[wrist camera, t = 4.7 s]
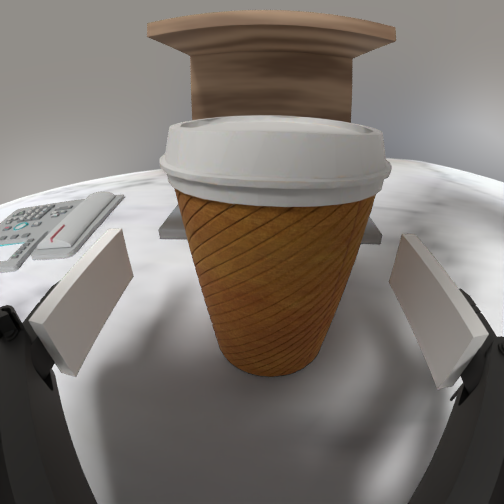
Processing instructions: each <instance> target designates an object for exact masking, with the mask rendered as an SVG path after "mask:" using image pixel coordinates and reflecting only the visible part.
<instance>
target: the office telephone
mask: <svg viewBox="0 0 504 504" xmlns="http://www.w3.org/2000/svg"><path fill="white" fill-rule="evenodd" d="M123 199H124V195H114V194H113V193H110V192H96V193H93V194H91V195H89V196H88V197H87V198H86V199H81V200H74V201H67V202H60V203H53V204H47V205H41V206H35V207H28V208H22V209H18V210H16V211H15V212H13V213H12V214H11V215H10V216H8V217H7V218H6V219H5V220H3V221H2V222H1V223H0V246H4V245H12V244H20V243H24V244H23V245H22V246H21V247H20V248H19V249H18V250H17V251H16V252H15V253H14V254H13V255H12V256H11V257H10V258H9V259H8V260H7V261H0V273H4V272H14V271H17V270H18V269H19V268H20V266H21V265H22V263H23V262H24V261H25V260H26V259H27V257H28V256H29V255H30V254H31V256H32V259H33V260H49V259H64V258H69V257H71V256H73V255H74V254H75V253H76V252H77V251H78V250H79V249H80V248H81V247H82V245H83V244H84V243H85V242H86V241H87V239H88V238H89V237H90V236H91V235H92V233H93V232H94V231H95V230H96V229H97V228H98V227H99V226H100V225H101V223H102V222H103V221H104V220H105V219H106V218H107V216H108V215H109V214H110V213H111V212H112V211H113V210H114V208H115V207H116V206H117V205H118V204H119V203H120V202H121V201H122V200H123ZM36 247H37V248H36Z"/></svg>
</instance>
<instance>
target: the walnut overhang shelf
mask: <svg viewBox="0 0 504 504" xmlns="http://www.w3.org/2000/svg"><path fill="white" fill-rule="evenodd" d="M147 37H149V38H151V39H153V40H156V41H158V42H161V43H163V44H165V45H168V46H170V47H172V48H174V49H177V50H179V51H181V52H183V53H185V54H188V55H189V56H190V57H191V58H190V59H191V100H192V121H193V120H199V119H207V118H216V117H228V116H253V115H272V116H297V117H310V118H320V119H328V120H336V121H342V122H348V123H351V105H352V59H353V58H355V57H358V56H360V55H362V54H365V53H367V52H369V51H372V50H374V49H377V48H379V47H382V46H385V45H387V44H390V43H393V42H395V41H396V31H395V27H392V26H388V25H384V24H380V23H375V22H371V21H367V20H362V19H356V18H351V17H345V16H338V15H331V14H322V13H314V12H302V11H284V10H242V11H226V12H213V13H205V14H196V15H189V16H182V17H176V18H171V19H165V20H160V21H155V22H151V23H148V24H147ZM159 235H160V239H187V236H186V233H185V228H184V224H183V221H182V216H181V212H180V209H179V205H177V206H176V208H175V209H174V210H173V212H172V213H171V214H170V215H169V217H168V218H167V219H166V221H165V222H164V223H163V224H162V226H161V227H160V228H159ZM381 238H382V234H381V233H380V231H379V230H378V228H377V227H376V225H375V224H374V223H373V221H372V220H371V218H370V217H369V219H368V222H367V225H366V228H365V231H364V235H363V238H362V241H361V243H368V244H380V243H381Z"/></svg>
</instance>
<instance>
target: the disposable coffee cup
mask: <svg viewBox="0 0 504 504" xmlns="http://www.w3.org/2000/svg"><path fill="white" fill-rule="evenodd" d="M160 167H161V168H162V170H163V171H164V172H165V173H167V176H168V182H169V183H170V184H171V186H172V187H174V189H175V192H176V196H177V200H178V205H179V209H180V212H181V216H182V221H183V224H184V228H185V233H186V236H187V240H188V243H189V247H190V251H191V254H192V258H193V262H194V265H195V267H196V268H195V269H196V272H197V275H198V278H199V283H200V286H201V288H202V289H201V290H202V293H203V296H204V298H205V299H204V300H205V303H206V306H207V307H208V308H207V309H208V312H209V315H211V316H210V319H211V322H212V323H213V328H214V331H215V335H216V338H217V341H218V344H219V348H220V350H221V351H222V353H223V355H224V356H225V358H226V359H227V360H228V361H229V362H230V363H231V364H233V365H234V366H236V367H237V368H239V369H241V370H243V371H245V372H247V373H251V374H254V375H258V376H269V377H273V376H282V375H287V374H291V373H294V372H296V371H298V370H301V369H303V368H304V367H305V366H307V365H308V364H309V363H310V362H312V361H313V359H314V358H315V357H316V356H317V354H318V352H319V350H320V348H321V345H322V343H323V341H324V338H325V336H326V334H327V331H328V329H329V327H330V324H331V322H332V319H333V317H334V314H335V312H336V309H337V307H338V305H339V302H340V300H341V297H342V294H343V292H344V289H345V286H346V284H347V281H348V278H349V276H350V273H351V270H352V267H353V265H354V262H355V259H356V256H357V253H358V250H359V247H360V244H361V241H362V238H363V235H364V231H365V228H366V225H367V222H368V219H369V215H370V213H371V210H372V206H373V202H374V199H375V196H376V194H377V193H378V192H379V191H380V190H381V189H382V185H383V181H384V179H386V178H388V177H389V175H390V172H391V168H392V166H391V164H390V162H388V161H387V160H386V157H385V149H384V141H383V133H382V132H381V131H379V130H377V129H374V128H370V127H367V126H363V125H358V124H353V123H348V122H342V121H336V120H328V119H320V118H310V117H297V116H272V115H253V116H228V117H216V118H207V119H199V120H193V121H187V122H182V123H178V124H174V125H172V126H170V128H169V133H168V139H167V147H166V153H165V154H164V155H163V156H162V157H161V158H160Z"/></svg>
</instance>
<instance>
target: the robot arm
mask: <svg viewBox="0 0 504 504" xmlns="http://www.w3.org/2000/svg"><path fill="white" fill-rule="evenodd" d="M133 277H134V276H133V272H132V268H131V264H130V261H129V257H128V253H127V249H126V244H125V240H124V236H123V231H122V229H108V230H107V231H106V232H105V233H104V234H103V235H102V236H101V237H100V238H99V239H98V240H97V241H96V242H95V243H94V244H93V245H92V246H91V248H90V249H89V250H88V251H87V252H86V253H85V254H84V255H83V256H82V257H81V258H80V259H79V260H78V261H77V263H76V264H75V265H74V266H73V267H72V268H71V269H70V270H69V272H68V273H67V274H66V275H65V276H64V277H63V278H62V280H60V281H59V282H58V283H56V284H55V285H53V286H52V287H51V288H50V289H49V291H48V292H47V293H46V294H45V296H44V297H43V298H42V299H41V300H40V303H38V304H37V305H36V306H35V308H34V309H33V310H32V311H31V313H30V314H29V315H28V317H27V318H26V319H25V321H24V322H23V323H22V322H21V320H20V319H19V317H18V315H17V313H16V311H15V310H14V308H13V307H12V306H9V305H6V306H2V307H0V504H97V502H96V500H95V498H94V495H93V493H92V491H91V489H90V487H89V484H88V482H87V480H86V477H85V475H84V473H83V470H82V468H81V465H80V462H79V460H78V457H77V454H76V451H75V449H74V446H73V443H72V440H71V436H70V433H69V430H68V427H67V423H66V420H65V416H64V412H63V408H62V405H61V400H60V396H59V392H58V387H57V382H56V377H55V374H54V372H53V370H52V367H53V365H54V363H55V364H56V365H57V367H58V368H59V370H60V371H61V373H64V374H67V375H70V376H74V377H76V376H77V374H78V372H79V370H80V368H81V366H82V364H83V362H84V360H85V359H86V357H87V355H88V353H89V351H90V349H91V347H92V346H93V344H94V342H95V340H96V338H97V337H98V335H99V333H100V331H101V329H102V328H103V326H104V324H105V322H106V321H107V319H108V317H109V316H110V314H111V312H112V311H113V309H114V307H115V306H116V304H117V302H118V301H119V299H120V297H121V296H122V294H123V292H124V291H125V289H126V288H127V286H128V284H129V283H130V281H131V280H132V278H133ZM389 283H390V285H391V287H392V289H393V291H394V293H395V295H396V297H397V299H398V301H399V303H400V305H401V307H402V309H403V311H404V313H405V315H406V317H407V319H408V321H409V324H410V326H411V328H412V330H413V332H414V334H415V337H416V339H417V341H418V343H419V346H420V348H421V350H422V353H423V355H424V357H425V360H426V362H427V365H428V367H429V370H430V372H431V375H432V377H433V380H434V382H435V385H436V388H437V390H438V389H442V388H447V387H451V386H453V385H454V384H455V382H456V381H457V380H458V378H459V377H460V376H461V378H462V380H463V383H462V385H461V386H460V387H459V388H458V390H457V391H456V392H455V393H454V394H453V396H452V397H451V399H450V401H452V400H453V399H454V398H455V397H456V396H457V397H456V400H455V403H454V406H453V409H452V412H451V414H450V417H449V420H448V423H447V425H446V428H445V430H444V433H443V435H442V438H441V440H440V442H439V445H438V447H437V449H436V451H435V453H434V456H433V458H432V460H431V462H430V464H429V466H428V468H427V470H426V472H425V474H424V476H423V478H422V480H421V481H420V483H419V485H418V487H417V489H416V490H415V492H414V494H413V495H412V497H411V499H410V500H409V502H408V504H504V337H502V336H501V337H497V336H496V335H495V333H494V331H493V330H492V328H491V327H490V325H489V323H488V322H487V320H486V319H485V317H484V316H483V314H482V313H480V312H481V311H480V310H479V308H478V307H477V306H476V304H475V303H474V301H473V300H472V298H471V297H470V296H469V295H468V294H467V293H465V292H464V291H463V290H462V289H458V287H457V286H456V284H455V283H454V282H453V280H452V279H451V278H450V276H449V275H448V274H447V272H446V271H445V270H444V269H443V267H442V266H441V265H440V263H439V262H438V261H437V260H436V258H435V257H434V256H433V255H432V254H431V252H430V251H429V250H428V249H427V248H426V246H425V245H424V244H423V243H422V242H421V240H420V239H419V238H418V237H417V236H416V235H415V234H402V235H401V240H400V244H399V248H398V251H397V255H396V259H395V263H394V266H393V270H392V273H391V277H390V280H389Z"/></svg>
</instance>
